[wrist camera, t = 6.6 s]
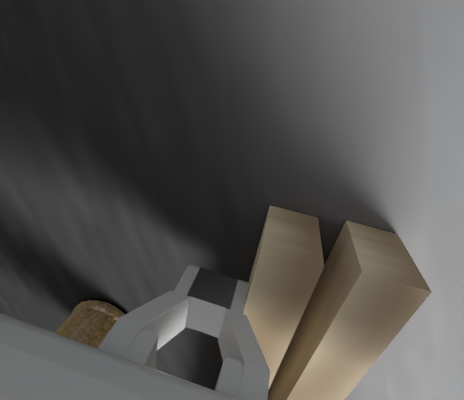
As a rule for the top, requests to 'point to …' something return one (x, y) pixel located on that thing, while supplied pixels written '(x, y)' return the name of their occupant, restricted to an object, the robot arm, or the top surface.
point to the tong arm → (283, 280)
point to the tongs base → (350, 315)
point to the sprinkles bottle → (90, 322)
